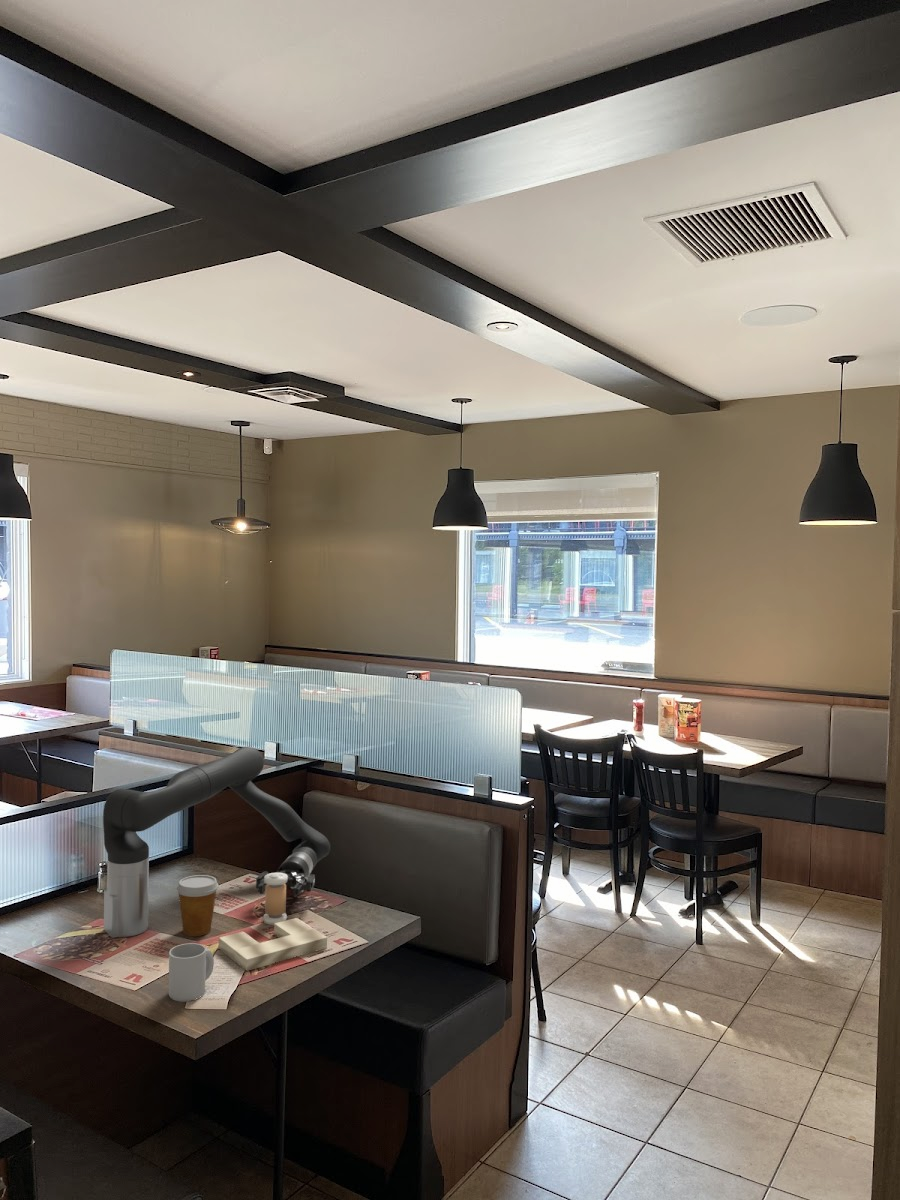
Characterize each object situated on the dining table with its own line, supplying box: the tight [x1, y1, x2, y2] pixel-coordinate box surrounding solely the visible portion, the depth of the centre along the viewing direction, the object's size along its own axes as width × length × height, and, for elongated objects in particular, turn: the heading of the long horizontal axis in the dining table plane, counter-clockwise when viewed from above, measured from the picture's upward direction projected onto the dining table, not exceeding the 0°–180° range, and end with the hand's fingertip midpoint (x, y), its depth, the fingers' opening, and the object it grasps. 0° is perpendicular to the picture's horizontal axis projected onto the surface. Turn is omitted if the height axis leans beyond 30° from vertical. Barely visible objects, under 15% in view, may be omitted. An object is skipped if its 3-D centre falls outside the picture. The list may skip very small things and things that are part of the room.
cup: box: [168, 942, 215, 1003], centre depth 185 cm, size 7×10×9 cm
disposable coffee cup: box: [176, 874, 219, 937], centre depth 215 cm, size 10×10×12 cm
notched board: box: [218, 917, 328, 972], centre depth 206 cm, size 20×14×2 cm
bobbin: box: [263, 872, 288, 926], centre depth 222 cm, size 6×6×11 cm
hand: (277, 891), depth 224 cm, fingers open, 8 cm apart
